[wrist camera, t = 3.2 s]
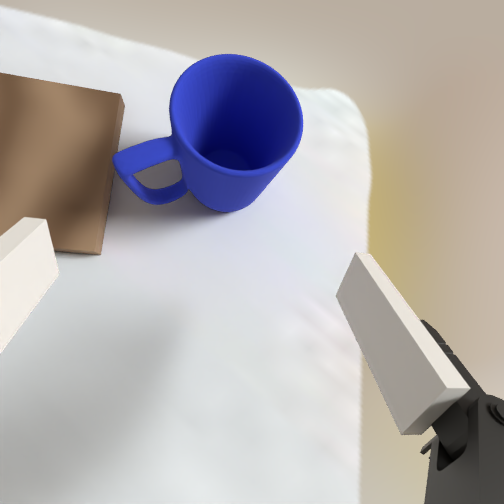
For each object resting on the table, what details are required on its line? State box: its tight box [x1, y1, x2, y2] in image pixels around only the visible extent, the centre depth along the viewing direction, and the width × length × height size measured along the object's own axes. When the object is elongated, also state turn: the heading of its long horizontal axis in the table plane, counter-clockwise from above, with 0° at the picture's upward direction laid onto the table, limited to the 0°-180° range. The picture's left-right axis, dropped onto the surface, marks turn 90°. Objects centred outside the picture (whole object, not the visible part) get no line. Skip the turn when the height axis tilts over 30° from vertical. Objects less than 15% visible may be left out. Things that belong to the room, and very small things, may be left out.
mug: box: [112, 54, 303, 212], centre depth 22 cm, size 8×12×10 cm
